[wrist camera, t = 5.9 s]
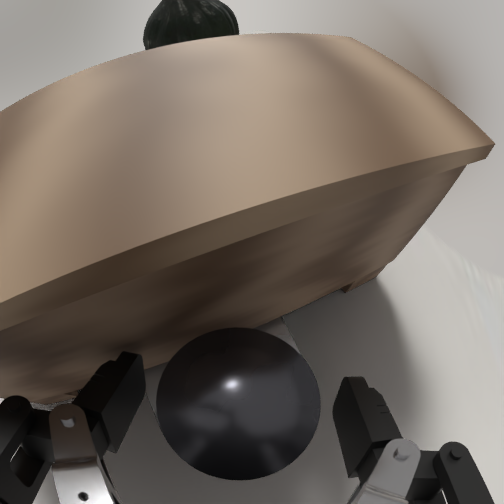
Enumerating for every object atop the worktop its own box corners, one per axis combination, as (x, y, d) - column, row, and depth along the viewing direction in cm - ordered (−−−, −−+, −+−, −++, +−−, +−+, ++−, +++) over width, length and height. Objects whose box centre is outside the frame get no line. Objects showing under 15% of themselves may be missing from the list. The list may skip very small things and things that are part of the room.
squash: (245, 21, 38) (187, -29, 27) (267, 46, 31) (191, -24, 20) (187, 68, 45) (127, 27, 33) (192, 105, 38) (112, 53, 26)
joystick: (179, 460, 13) (112, 514, 4) (118, 286, 18) (46, 185, 9) (320, 401, 15) (416, 384, 6) (238, 242, 20) (242, 120, 12)
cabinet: (39, 413, 12) (-119, 366, 1) (20, 278, 17) (-76, 171, 6) (388, 276, 19) (495, 143, 8) (314, 174, 24) (350, 37, 13)
